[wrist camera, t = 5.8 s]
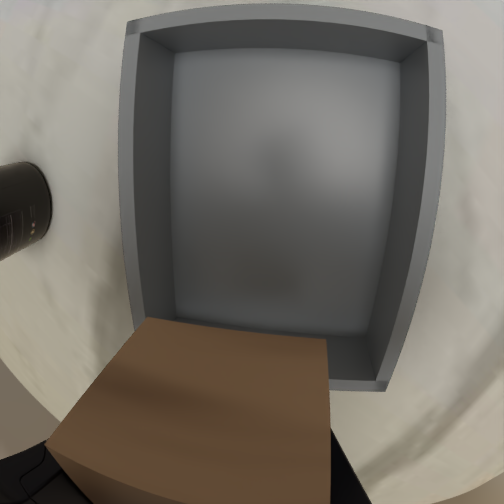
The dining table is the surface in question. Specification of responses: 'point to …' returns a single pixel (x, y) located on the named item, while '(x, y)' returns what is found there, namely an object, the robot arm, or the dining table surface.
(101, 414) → the walnut cube
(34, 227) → the supplement bottle
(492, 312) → the dining table surface
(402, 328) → the tote
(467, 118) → the dining table surface
